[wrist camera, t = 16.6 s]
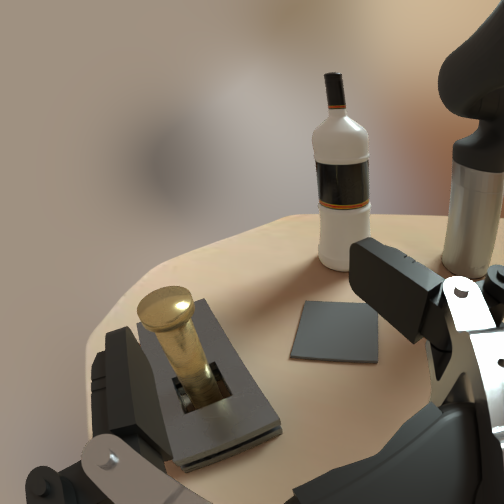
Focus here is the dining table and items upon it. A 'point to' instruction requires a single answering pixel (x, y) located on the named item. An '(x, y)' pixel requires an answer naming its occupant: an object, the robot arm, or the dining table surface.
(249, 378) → the slotted grey base plate
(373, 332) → the rubber mat
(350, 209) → the vodka
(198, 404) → the brass pin
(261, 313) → the dining table surface
